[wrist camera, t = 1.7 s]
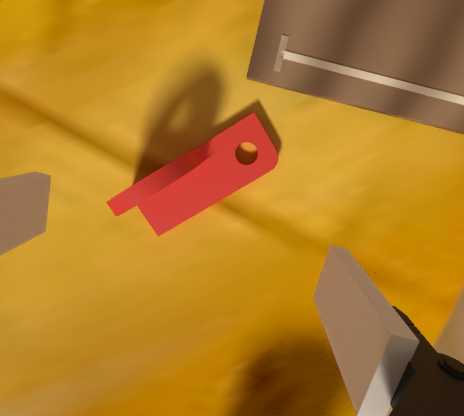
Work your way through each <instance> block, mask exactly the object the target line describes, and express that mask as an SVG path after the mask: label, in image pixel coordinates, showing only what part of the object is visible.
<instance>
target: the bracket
mask: <svg viewBox="0 0 464 416" xmlns="http://www.w3.org/2000/svg"><path fill="white" fill-rule="evenodd" d="M244 142H250V143H252V144H254V145H255V146H256V148H257V151H258V154H257V158H256V159H255V160H254V161H253V162H252V163H250V164H243V163H241V162H240V161H238V159H237V158H236V154H235V151H236V148H237V147H238V145H240V144H241V143H244ZM277 162H278V154H277V151H276V149H275V148H274V146H273V144H272V142H271V141H270V139H269V137H268V135H267V134H266V132H265V130H264V128H263V127H262V125H261V123H260V121H259V119H258V118H257V116H256V114H255V112H254V113H252V114H251V115H249V116H247V117H246V118H244V119H243V120H241V121H239V122H238V123H236V124H235V125H233V126H231V127H230V128H228V129H226V130H225V131H223V132H222V133H220V134H218V135H217V136H215V137H214V138H212V139H210V140H209V141H207V142H206V143H204V144H202V145H201V146H199V147H197V148H195V149H193V150H191V151H189V152H187V153H185V154H184V155H182V156H180V157H178V158H177V159H175V160H173V161H172V162H170V163H168V164H167V165H165V166H163V167H162V168H160V169H158V170H157V171H155V172H153V173H152V174H150V175H148V176H147V177H145V178H144V179H142V180H140V181H139V182H137V183H135V184H134V185H132V186H131V187H129V188H127V189H126V190H124V191H123V192H121V193H120V194H118V195H117V196H115V197H113V198H112V199H110V200H109V201H108V202H106V203H107V204H108V206H109V207H110V208H111V210H112V211H113V213H114V214H115V216H119V215H120V214H122V213H124V212H126V211H127V210H129V209H131V208H133V207H134V206H136V205H137V206H138V207H139V209H140V210H141V212H142V213H143V215H144V216H145V218H146V219H147V221H148V222H149V224H150V225H151V227H152V228H153V229H154V231H155V232H156V234H157V235H158V236H160V235H162V234H163V233H165V232H167V231H168V230H170V229H172V228H174V227H175V226H177V225H179V224H180V223H182V222H184V221H186V220H187V219H189V218H191V217H192V216H194V215H196V214H198V213H199V212H201V211H203V210H204V209H206V208H208V207H210V206H211V205H213V204H215V203H216V202H218V201H220V200H222V199H223V198H225V197H227V196H228V195H230V194H232V193H233V192H235V191H237V190H239V189H240V188H242V187H244V186H245V185H247V184H249V183H251V182H252V181H254V180H256V179H257V178H259V177H261V176H263V175H264V174H266V173H268V172H269V171H271V170H272V169H274V168H275V166H276V165H277Z"/></svg>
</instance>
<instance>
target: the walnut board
mask: <svg viewBox="0 0 464 416" xmlns="http://www.w3.org/2000/svg"><path fill="white" fill-rule="evenodd" d="M247 79H248V80H252V81H256V82H260V83H264V84H268V85H272V86H276V87H280V88H284V89H288V90H292V91H296V92H299V93H303V94H307V95H311V96H315V97H319V98H323V99H327V100H331V101H335V102H339V103H343V104H347V105H351V106H355V107H358V108H362V109H366V110H370V111H374V112H378V113H382V114H386V115H390V116H394V117H398V118H402V119H406V120H410V121H413V122H417V123H421V124H425V125H429V126H433V127H437V128H441V129H445V130H449V131H453V132H457V133H461V134H464V0H265V2H264V6H263V10H262V14H261V18H260V23H259V27H258V31H257V35H256V39H255V44H254V48H253V52H252V56H251V60H250V65H249V69H248V73H247Z"/></svg>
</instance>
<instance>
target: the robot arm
mask: <svg viewBox="0 0 464 416" xmlns="http://www.w3.org/2000/svg"><path fill="white" fill-rule="evenodd" d="M50 182H51V175H47V174H42V173H38V172H30V173H26V174H21V175H17V176H12V177H8V178H3V179H0V255H2V254H4V253H6V252H8V251H9V250H11V249H13V248H15V247H17V246H19V245H21V244H23V243H25V242H27V241H28V240H30V239H32V238H34V237H36V236H38V235H40V234H42V233H44V232H45V231H46V221H47V211H48V201H49V192H50ZM313 299H314V302H315V304H316V307H317V310H318V312H319V315H320V318H321V321H322V323H323V326H324V329H325V331H326V334H327V337H328V340H329V342H330V345H331V348H332V350H333V353H334V356H335V359H336V361H337V364H338V367H339V369H340V372H341V375H342V378H343V380H344V383H345V386H346V388H347V391H348V394H349V396H350V399H351V402H352V405H353V407H354V410H355V413H356V415H357V416H386V415H387V412H388V410H389V408H390V406H392V408H393V410H392V412H391V413H390V415H389V416H464V364H462V363H461V362H459V361H457V360H456V359H454V358H452V357H450V356H447V355H444V354H441V353H437V352H436V351H435V349H434V348H433V347H432V346H431V345H430V343H429V342H428V341H427V340H426V338H425V337H424V336H423V335H422V334H420V333H421V332H420V331H419V330H418V329H417V328H416V327H415V326H414V324H413V323H412V321H411V320H410V319H409V318H408V317H407V316H406V315H405V314H404V313H403V312H401V311H400V310H399V309H397V308H396V307H395V306H391V304H390V303H389V302H388V300H387V299H386V298H385V297H384V295H383V294H382V293H381V292H380V290H379V289H378V288H377V286H376V285H375V284H374V283H373V281H372V280H371V279H370V278H369V276H368V275H367V274H366V272H365V271H364V270H363V269H362V267H361V266H360V265H359V264H358V262H357V261H356V260H355V258H354V257H353V256H352V255H351V253H350V252H349V251H348V250H347V249H345V248H341V247H337V246H333V245H331V246H330V249H329V252H328V255H327V258H326V261H325V264H324V267H323V270H322V272H321V275H320V278H319V281H318V284H317V287H316V290H315V293H314V296H313Z"/></svg>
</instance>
